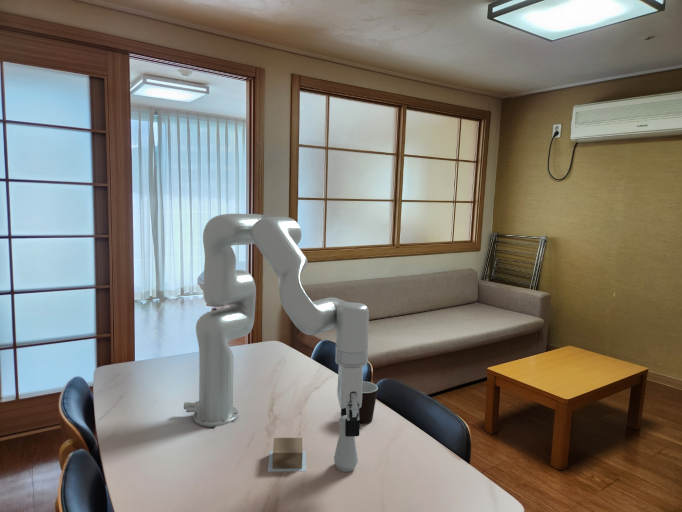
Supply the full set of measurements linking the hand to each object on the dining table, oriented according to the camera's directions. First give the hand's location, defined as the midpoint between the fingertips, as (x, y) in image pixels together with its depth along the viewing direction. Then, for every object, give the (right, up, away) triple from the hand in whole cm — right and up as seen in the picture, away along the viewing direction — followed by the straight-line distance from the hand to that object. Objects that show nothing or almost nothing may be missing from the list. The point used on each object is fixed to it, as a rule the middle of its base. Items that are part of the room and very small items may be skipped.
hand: (349, 425), depth 111 cm
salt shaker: (-1, -11, +2) cm, 11 cm away
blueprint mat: (-15, -10, +3) cm, 19 cm away
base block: (-15, -10, +3) cm, 18 cm away
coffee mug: (+4, -8, +29) cm, 31 cm away
